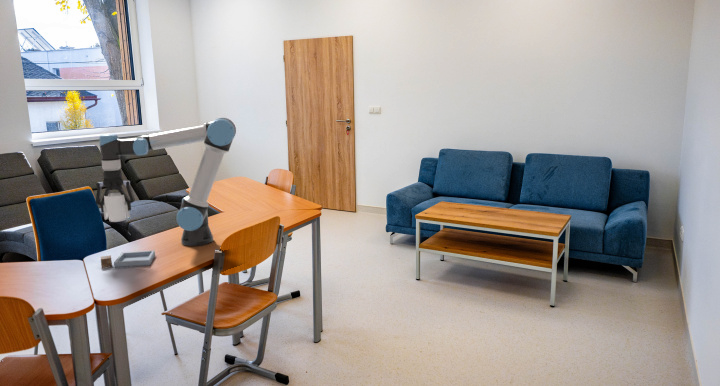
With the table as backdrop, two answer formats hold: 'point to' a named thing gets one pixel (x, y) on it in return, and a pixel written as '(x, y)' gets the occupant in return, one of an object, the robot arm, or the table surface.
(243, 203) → the table surface
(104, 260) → the walnut block
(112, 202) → the cup
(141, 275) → the table surface
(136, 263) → the tray
